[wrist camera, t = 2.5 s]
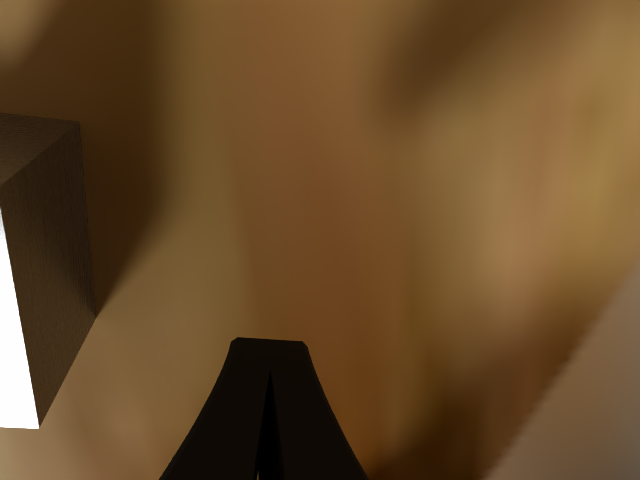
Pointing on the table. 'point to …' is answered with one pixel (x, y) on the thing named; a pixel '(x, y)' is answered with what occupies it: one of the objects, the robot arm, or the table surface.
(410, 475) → the table surface
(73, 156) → the steel key pin
